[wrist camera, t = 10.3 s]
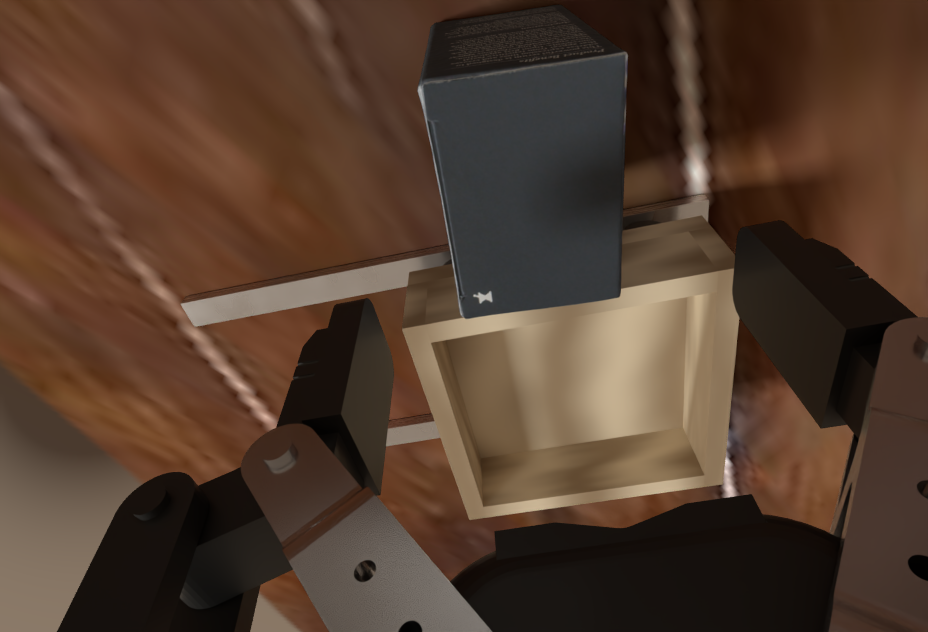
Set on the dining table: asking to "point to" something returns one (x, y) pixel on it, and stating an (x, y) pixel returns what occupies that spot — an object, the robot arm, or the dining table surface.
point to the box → (528, 157)
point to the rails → (371, 280)
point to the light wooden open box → (586, 379)
